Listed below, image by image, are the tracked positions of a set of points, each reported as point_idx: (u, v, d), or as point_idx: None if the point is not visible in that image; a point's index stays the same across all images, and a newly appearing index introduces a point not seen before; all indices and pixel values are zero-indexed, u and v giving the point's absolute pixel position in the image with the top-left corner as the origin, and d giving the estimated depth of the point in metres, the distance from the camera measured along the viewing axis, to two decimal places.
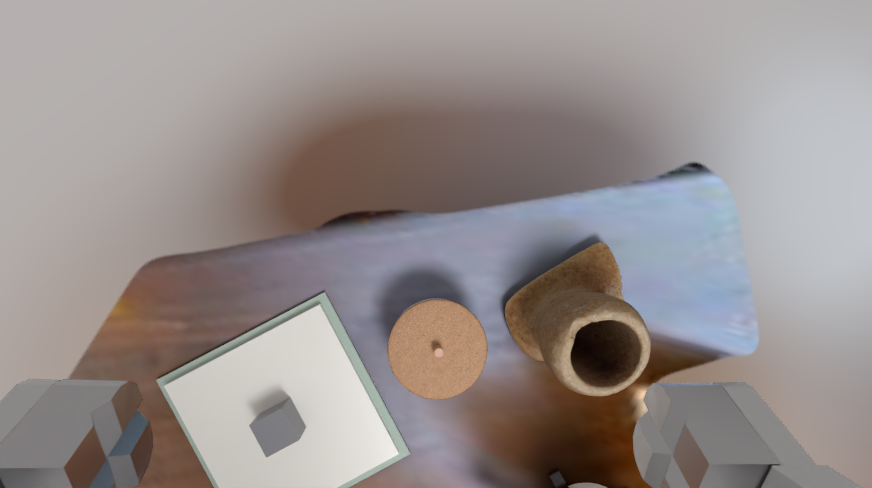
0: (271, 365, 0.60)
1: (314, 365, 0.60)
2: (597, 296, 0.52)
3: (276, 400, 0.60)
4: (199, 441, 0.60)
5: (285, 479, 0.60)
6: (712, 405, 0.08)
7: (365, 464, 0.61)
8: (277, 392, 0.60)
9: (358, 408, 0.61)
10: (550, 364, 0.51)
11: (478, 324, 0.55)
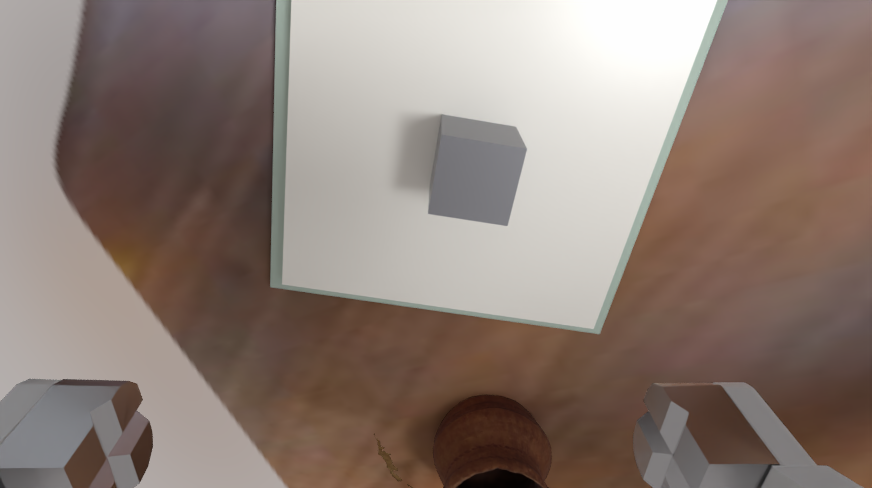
0: (359, 105, 0.27)
1: (416, 22, 0.25)
2: None
3: (429, 141, 0.28)
4: (404, 294, 0.32)
5: (567, 222, 0.30)
6: (712, 405, 0.08)
7: (672, 73, 0.26)
8: (416, 129, 0.27)
9: None
10: None
11: None
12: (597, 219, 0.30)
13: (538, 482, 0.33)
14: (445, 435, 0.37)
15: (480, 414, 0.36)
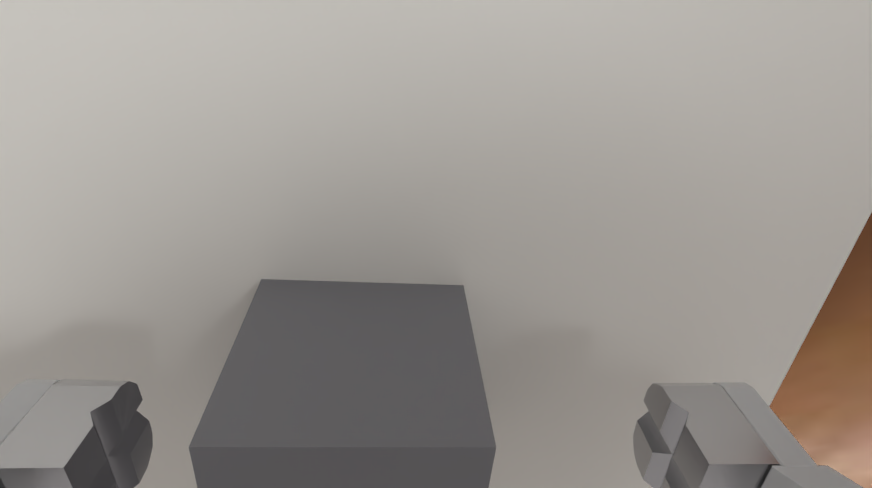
0: (29, 282, 0.10)
1: (107, 44, 0.08)
2: None
3: None
4: None
5: (607, 452, 0.13)
6: (712, 405, 0.08)
7: None
8: (205, 320, 0.10)
9: None
10: None
11: None
12: None
13: None
14: None
15: None
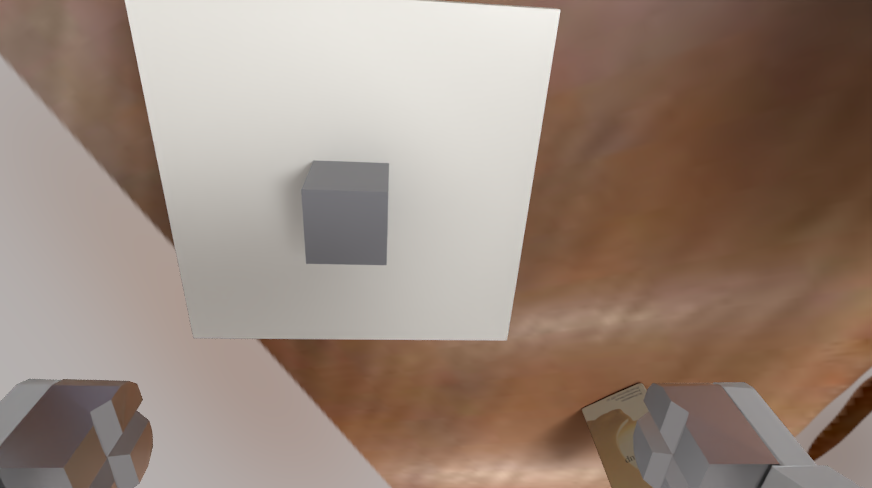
0: (229, 161, 0.27)
1: (268, 76, 0.25)
2: None
3: None
4: (315, 332, 0.33)
5: (459, 245, 0.30)
6: (712, 405, 0.08)
7: (530, 94, 0.26)
8: (292, 178, 0.28)
9: (411, 37, 0.25)
10: None
11: None
12: (488, 238, 0.30)
13: None
14: None
15: None
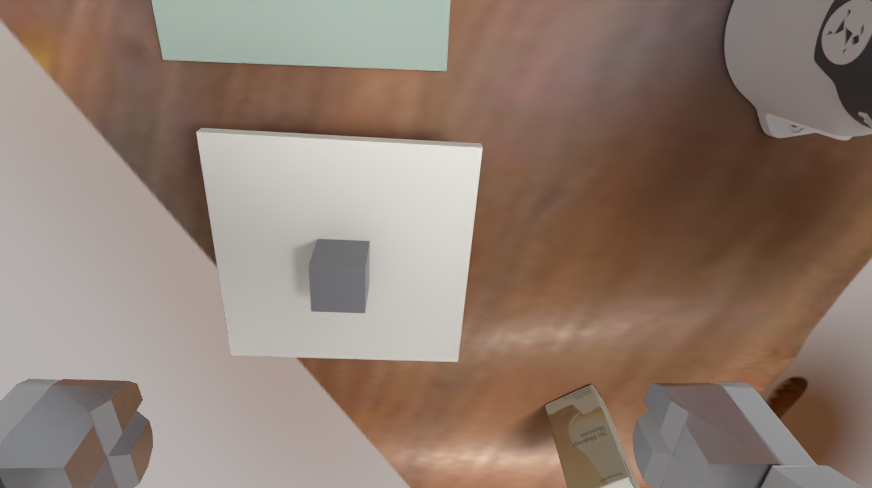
0: (261, 239, 0.40)
1: (288, 187, 0.38)
2: None
3: None
4: (318, 353, 0.45)
5: (420, 295, 0.43)
6: (712, 405, 0.08)
7: (465, 198, 0.39)
8: (303, 249, 0.40)
9: (383, 164, 0.37)
10: None
11: None
12: (440, 291, 0.43)
13: None
14: None
15: None
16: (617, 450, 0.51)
